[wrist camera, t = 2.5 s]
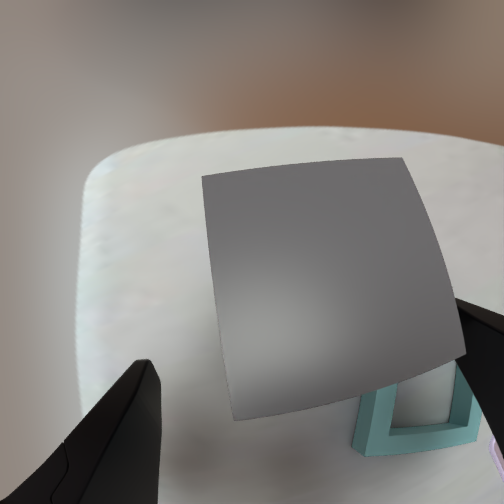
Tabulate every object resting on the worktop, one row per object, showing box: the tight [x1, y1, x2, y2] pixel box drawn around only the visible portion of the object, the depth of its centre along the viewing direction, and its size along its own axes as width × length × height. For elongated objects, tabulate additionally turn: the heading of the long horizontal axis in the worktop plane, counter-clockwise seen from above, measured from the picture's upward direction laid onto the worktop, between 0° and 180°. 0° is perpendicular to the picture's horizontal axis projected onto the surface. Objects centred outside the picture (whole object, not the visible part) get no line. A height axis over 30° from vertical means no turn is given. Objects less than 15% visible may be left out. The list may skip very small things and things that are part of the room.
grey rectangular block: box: [202, 158, 466, 421], centre depth 10 cm, size 4×4×12 cm
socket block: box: [352, 365, 482, 457], centre depth 14 cm, size 8×8×2 cm
